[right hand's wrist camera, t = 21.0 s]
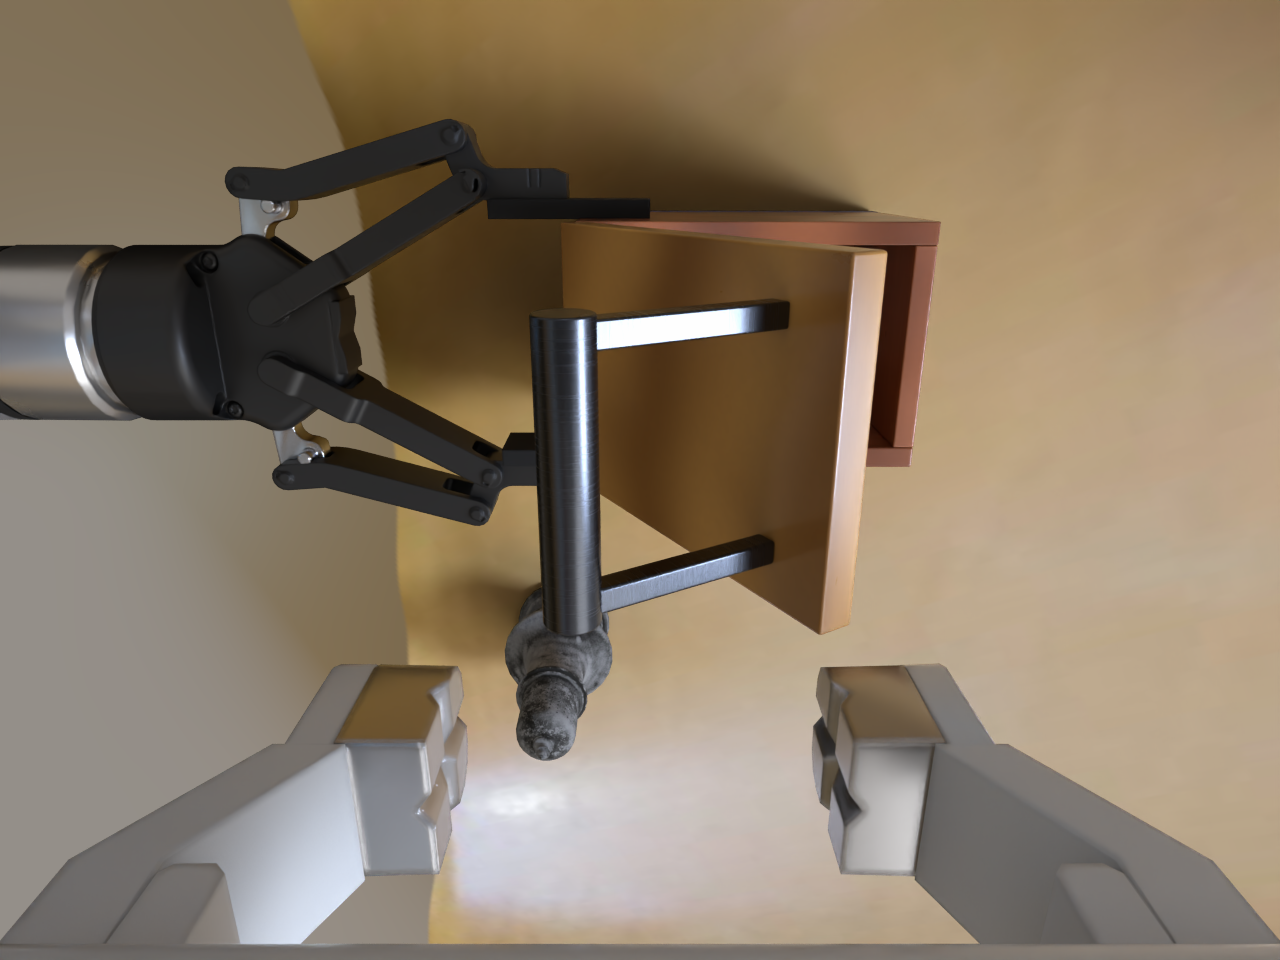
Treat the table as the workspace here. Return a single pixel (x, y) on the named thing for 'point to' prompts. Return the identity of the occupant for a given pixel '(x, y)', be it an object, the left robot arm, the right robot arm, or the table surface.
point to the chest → (900, 307)
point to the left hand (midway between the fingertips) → (648, 334)
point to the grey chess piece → (553, 679)
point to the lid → (705, 416)
